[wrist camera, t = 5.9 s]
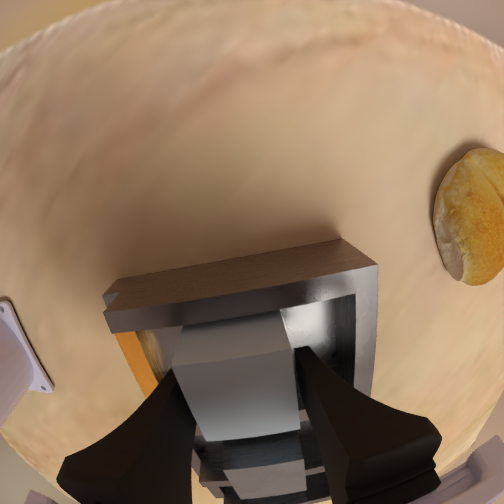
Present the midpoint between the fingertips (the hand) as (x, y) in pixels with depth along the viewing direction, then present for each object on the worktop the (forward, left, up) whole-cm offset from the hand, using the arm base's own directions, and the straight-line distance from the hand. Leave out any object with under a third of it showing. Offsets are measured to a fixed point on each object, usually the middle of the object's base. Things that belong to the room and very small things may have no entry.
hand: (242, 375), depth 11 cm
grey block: (0, 0, -3) cm, 3 cm away
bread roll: (+16, +4, -4) cm, 17 cm away
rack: (0, -7, -4) cm, 8 cm away
